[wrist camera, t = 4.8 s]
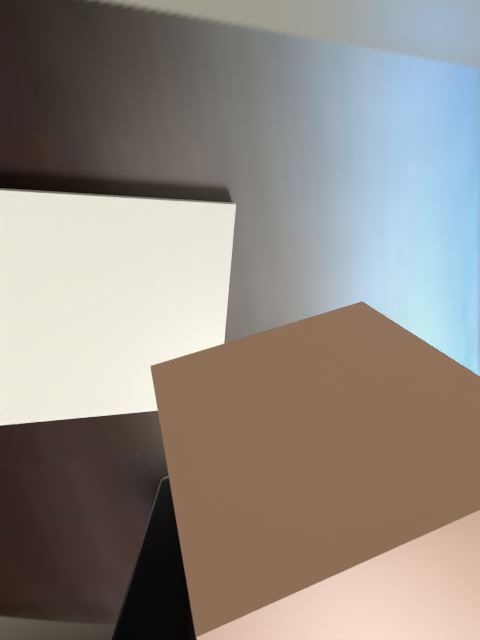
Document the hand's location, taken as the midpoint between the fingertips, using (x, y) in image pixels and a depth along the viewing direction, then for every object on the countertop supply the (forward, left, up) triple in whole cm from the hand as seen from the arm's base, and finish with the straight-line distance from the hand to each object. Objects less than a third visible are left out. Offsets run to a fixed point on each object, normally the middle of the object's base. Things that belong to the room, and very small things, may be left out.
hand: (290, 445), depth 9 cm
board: (+5, -4, -12) cm, 14 cm away
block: (0, 0, -1) cm, 1 cm away
